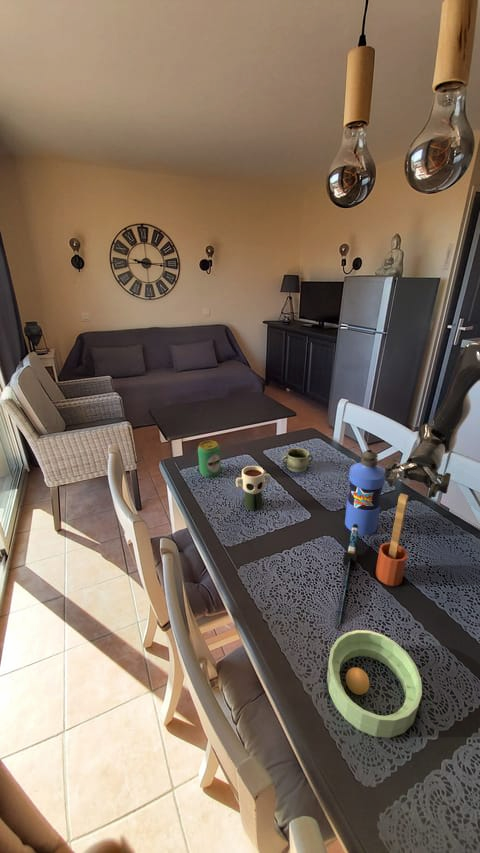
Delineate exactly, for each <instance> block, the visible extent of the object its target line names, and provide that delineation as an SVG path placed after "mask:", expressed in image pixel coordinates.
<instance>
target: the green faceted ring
mask: <svg viewBox="0 0 480 853" xmlns="http://www.w3.org/2000/svg"><path fill="white" fill-rule="evenodd" d="M356 657H368V658H371V659H374V660H377V661H379V662H380V663H381V664H384V665H385V666H386V667H388V668H389V669H390V670H391V671H392V673H393V674H394V675H395V677H396V678H397V679H398V681H399V682H400V685H401V688H402V690H403V695H404V696H403V697H404V698H403V699H404V701H403V705H402V707H400V708H399V709H398V710H397V711H396V712H394V713H391V714H389V715H380V714H376V713H373V712H371V711H369V710H365V709H363V708H362V707H361V706H360V705H358V704H357V703H355V702H354V701H353V700H352V699H351V697H350V696H348V694H347V693H346V690H345V689H344V686H343V685H342V681H341V675H340V671H341V669H342V668H343V666H344V664H345V663H347V662H348V661H349V660H350V659H354V658H356ZM326 681H327V688H328V692H329V695H330V697H331V699H332V702H333V704H334V706H335V708H336V709H337V710H338V712H339V713H340V714H341V715H342V717H343V718H344V719H345V720H346V721H347V722H348V723H350V724H351V725H352V726H353V727H354V728H356V729H357V730H358V731H361V732H363V733H365V734H368V735H370V736H373V737H376V738H394V737H397V736H399V735H402V734H405V733H406V732H407V731H408V730H409V729H410V727H412V725H413V724H414V722H415V719H416V716H417V714H418V710H419V707H420V703H421V700H422V697H423V686H422V685H423V684H422V682H423V681H422V677H421V675H420V672H419V669H418V667H417V665H416V663H415V662H414V660H413V659H412V658H411V656H410V654H409V653H408V652H407V651H406V650H405V649H404V648H403V647H401V645H399V644H398V642H396V641H394V640H392V639H391V638H389V637H388V636H386V635H384V634H382V633H378V632H375V631H373V630H367V629H365V630H362V629H356V630H352V631H349V632H345V633H343V635H341V636H340V637H338V638H337V639H335V642H334V643H333V645H332V646H331V648H330V651H329V657H328V664H327V673H326Z"/></svg>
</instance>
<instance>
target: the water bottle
mask: <svg viewBox="0 0 480 853" xmlns="http://www.w3.org/2000/svg"><path fill="white" fill-rule="evenodd" d="M378 460H379V459H378V454H377V453H376V452H375V450H374V449H366V450H365V451H364V452H362V455H361V457H360V462H356V463H354V464H352V465H350V468H349V474H348V475H349V476H348V479H349V480H348V481H349V493H348V496H347V499H346V506H345V507H346V508H345V517H344V526H345V527H346V528H347V529H348V530H349V531H350V532H352V531H351V530H352V527H353V525H354V524H357V525H358V535H362V536H368V535H372V534H374V533H376V531H377V530H378V523H379V517H380V510H381V495H382V491H383V489H384V486H385V482H386V477H385V476H384V475H385V468H384V467H382V466H381V465H378Z"/></svg>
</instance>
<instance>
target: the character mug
mask: <svg viewBox="0 0 480 853" xmlns="http://www.w3.org/2000/svg"><path fill="white" fill-rule="evenodd" d="M265 478H266V480H265ZM270 481H271V475H270V474H269V473H265V469H263V467H261V466H260V465H259V466H258V465H248V466H245V467H243V468H242V470H241V476H240V477H236V479H235V486H236V487H237V488H242V490H243V491H244V497H243V505H244V507H245V508H246V509H247V510H249V511H255V508H256V510H260V509H261V508H263V507H264V499H263V492H262V491H263V490H264V489H265V484H270ZM240 482H241V483H240Z"/></svg>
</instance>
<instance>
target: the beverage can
mask: <svg viewBox="0 0 480 853" xmlns="http://www.w3.org/2000/svg"><path fill="white" fill-rule="evenodd" d="M197 455H198V466H199V473H200V474H202V475H201V476H202V477H203V476H204V477H203V478H206V477H209V478H208V479H212V478H211V477H213V478H217V477H218V476H219V475H220V473H221V471H222V464H221V448H220V445H219V444H218V442H217V441H215V440H205V441H202V442H200V443H199V445H198V447H197Z"/></svg>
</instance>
